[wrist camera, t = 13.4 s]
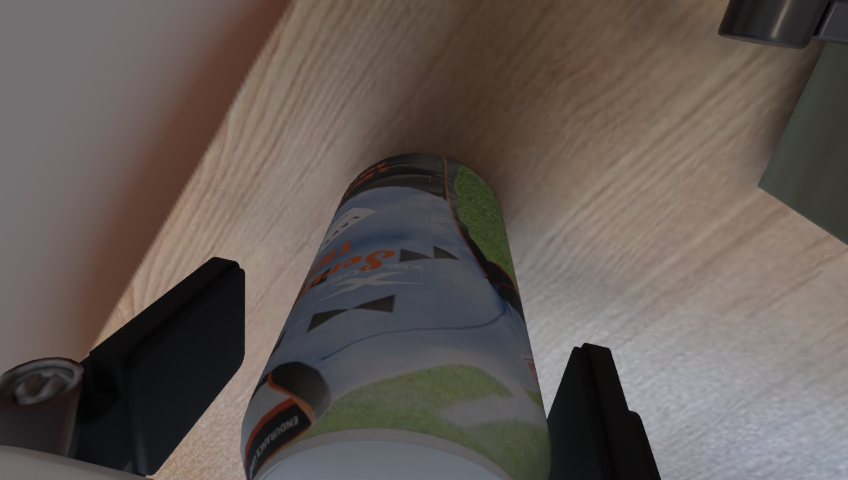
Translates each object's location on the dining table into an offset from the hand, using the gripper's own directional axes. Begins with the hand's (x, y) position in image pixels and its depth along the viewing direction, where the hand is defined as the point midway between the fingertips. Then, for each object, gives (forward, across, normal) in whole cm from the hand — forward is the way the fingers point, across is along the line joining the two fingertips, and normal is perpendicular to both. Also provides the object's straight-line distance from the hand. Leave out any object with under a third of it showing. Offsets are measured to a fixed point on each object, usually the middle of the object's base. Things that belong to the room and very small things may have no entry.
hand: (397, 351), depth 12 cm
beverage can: (+8, 0, 0) cm, 8 cm away
